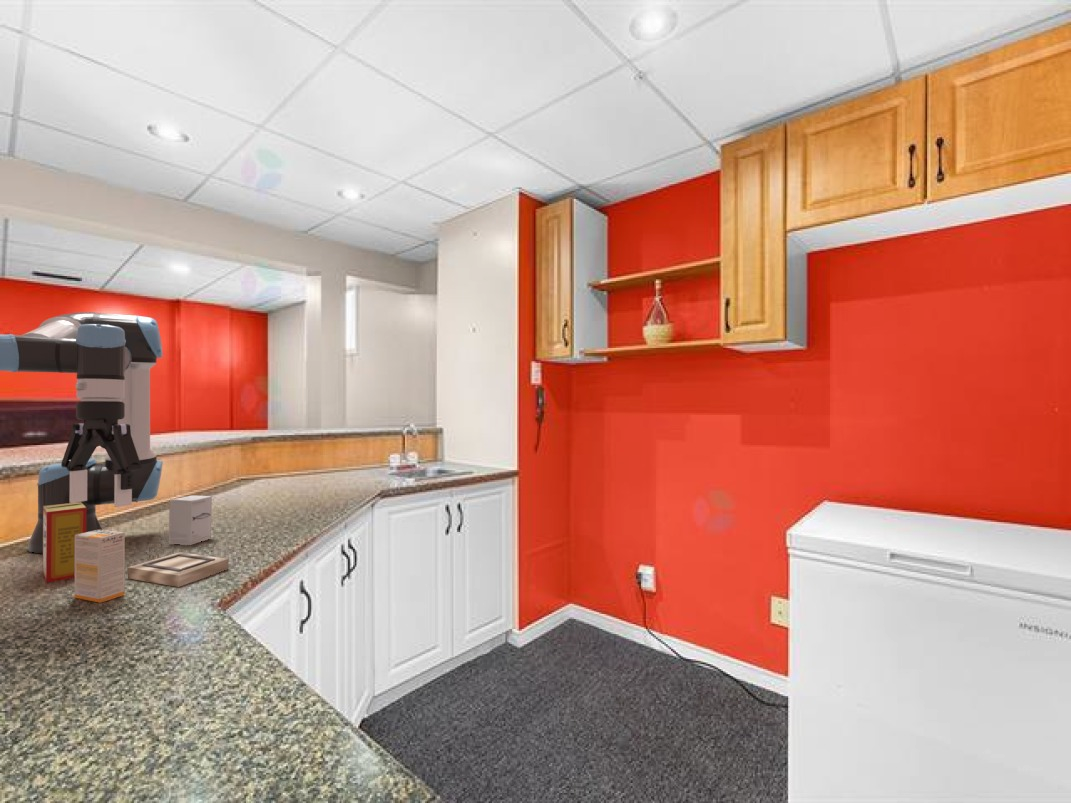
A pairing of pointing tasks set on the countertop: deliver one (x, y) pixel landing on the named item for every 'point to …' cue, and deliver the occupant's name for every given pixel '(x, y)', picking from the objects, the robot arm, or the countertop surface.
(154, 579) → the seat pad
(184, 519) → the supplement box
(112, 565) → the supplement box
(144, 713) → the countertop surface
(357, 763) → the countertop surface
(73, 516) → the baking soda box
